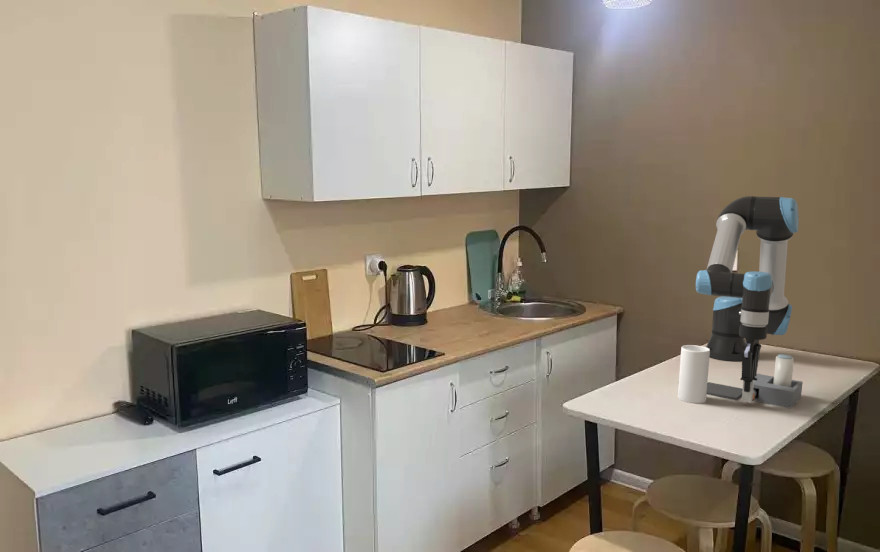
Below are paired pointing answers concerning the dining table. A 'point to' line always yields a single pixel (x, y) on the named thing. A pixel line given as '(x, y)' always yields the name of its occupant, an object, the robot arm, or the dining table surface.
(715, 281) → the robot arm
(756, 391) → the plunger
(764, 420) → the dining table surface
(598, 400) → the dining table surface
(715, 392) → the mat
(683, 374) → the cup
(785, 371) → the cylinder
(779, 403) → the frame
